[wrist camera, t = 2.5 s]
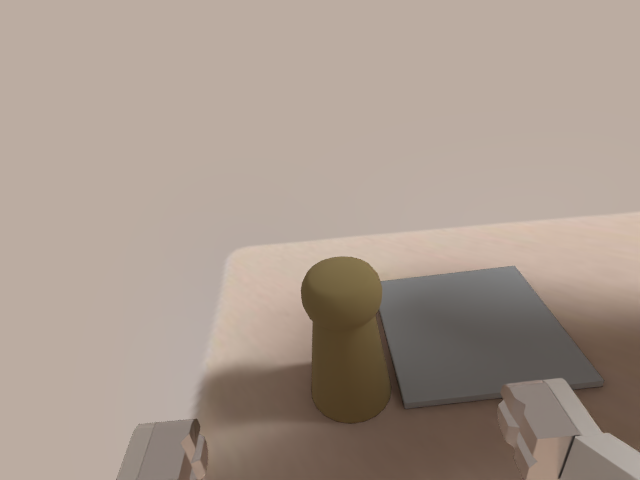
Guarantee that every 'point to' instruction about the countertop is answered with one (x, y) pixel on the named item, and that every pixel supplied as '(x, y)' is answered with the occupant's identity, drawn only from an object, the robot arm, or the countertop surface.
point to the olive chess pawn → (346, 339)
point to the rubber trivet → (475, 337)
